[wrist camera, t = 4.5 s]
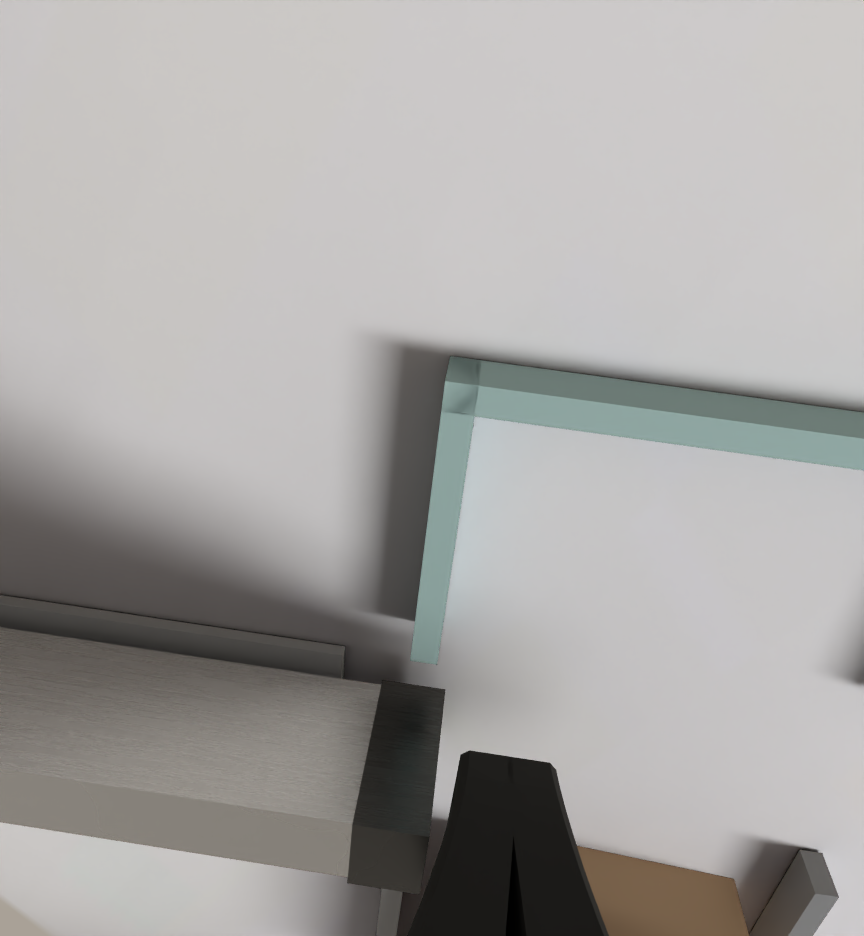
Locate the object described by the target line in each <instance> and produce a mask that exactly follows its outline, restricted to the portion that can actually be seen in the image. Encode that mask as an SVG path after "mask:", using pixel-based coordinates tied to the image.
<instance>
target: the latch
mask: <svg viewBox="0 0 864 936" xmlns="http://www.w3.org/2000/svg"><path fill="white" fill-rule="evenodd" d="M444 696H445V689H438V688H432V687H425V686H418V685H412V684H405V683H398V682H392V681H385V680H382V684H381V685H380V684H374V683H367V682H360V681H354V680H347V679H340V678H334V677H327V676H320V675H314V674H307V673H301V672H294V671H287V670H281V669H274V668H267V667H261V666H254V665H247V664H241V663H234V662H227V661H221V660H214V659H208V658H201V657H194V656H188V655H181V654H174V653H168V652H161V651H154V650H148V649H141V648H134V647H128V646H121V645H115V644H108V643H101V642H95V641H88V640H81V639H75V638H68V637H61V636H55V635H48V634H41V633H35V632H28V631H22V630H15V629H8V628H2V627H0V822H3V823H9V824H16V825H22V826H28V827H34V828H41V829H47V830H53V831H60V832H66V833H72V834H79V835H85V836H91V837H97V838H104V839H110V840H116V841H123V842H129V843H135V844H141V845H148V846H154V847H160V848H167V849H173V850H179V851H186V852H192V853H198V854H204V855H211V856H217V857H223V858H230V859H236V860H242V861H249V862H255V863H261V864H267V865H274V866H280V867H286V868H293V869H299V870H305V871H311V872H318V873H324V874H330V875H337V876H343V877H348V882H347V883H351V884H357V885H363V886H369V887H376V888H382V889H388V890H395V891H401V892H407V893H413V894H420V888H421V883H422V877H423V871H424V865H425V859H426V853H427V848H428V842H429V835H430V826H431V817H432V807H433V798H434V789H435V780H436V770H437V761H438V752H439V743H440V733H441V724H442V715H443V705H444Z"/></svg>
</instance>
